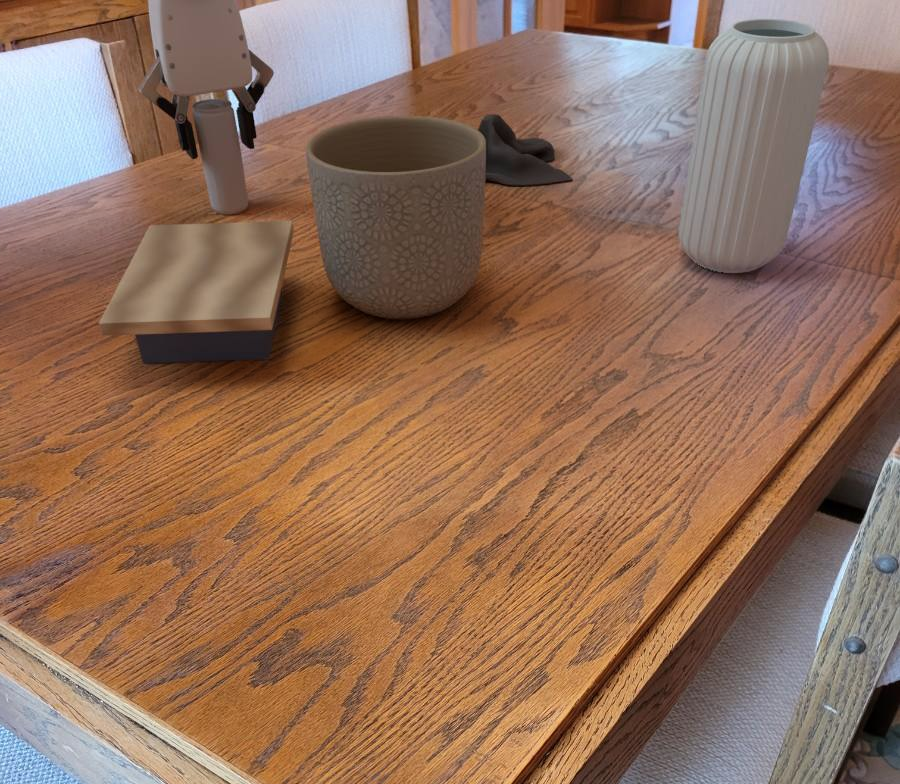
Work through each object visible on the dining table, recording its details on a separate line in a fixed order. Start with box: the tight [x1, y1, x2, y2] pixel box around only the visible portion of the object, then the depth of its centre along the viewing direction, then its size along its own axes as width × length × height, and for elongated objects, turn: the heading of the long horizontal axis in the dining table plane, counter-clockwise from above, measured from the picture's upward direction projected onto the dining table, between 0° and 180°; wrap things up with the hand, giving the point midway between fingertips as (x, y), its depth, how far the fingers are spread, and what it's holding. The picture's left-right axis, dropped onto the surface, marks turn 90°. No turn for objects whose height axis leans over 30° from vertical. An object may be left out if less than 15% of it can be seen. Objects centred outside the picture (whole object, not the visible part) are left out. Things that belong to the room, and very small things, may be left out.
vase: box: [677, 18, 830, 274], centre depth 93 cm, size 12×12×22 cm
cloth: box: [477, 113, 573, 187], centre depth 122 cm, size 22×19×6 cm
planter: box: [305, 115, 486, 320], centre depth 90 cm, size 17×17×15 cm
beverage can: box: [192, 98, 250, 216], centre depth 110 cm, size 5×5×12 cm
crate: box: [134, 287, 284, 364], centre depth 89 cm, size 12×14×5 cm
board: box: [98, 220, 295, 336], centre depth 87 cm, size 15×22×1 cm
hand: (220, 149), depth 109 cm, fingers open, 6 cm apart
